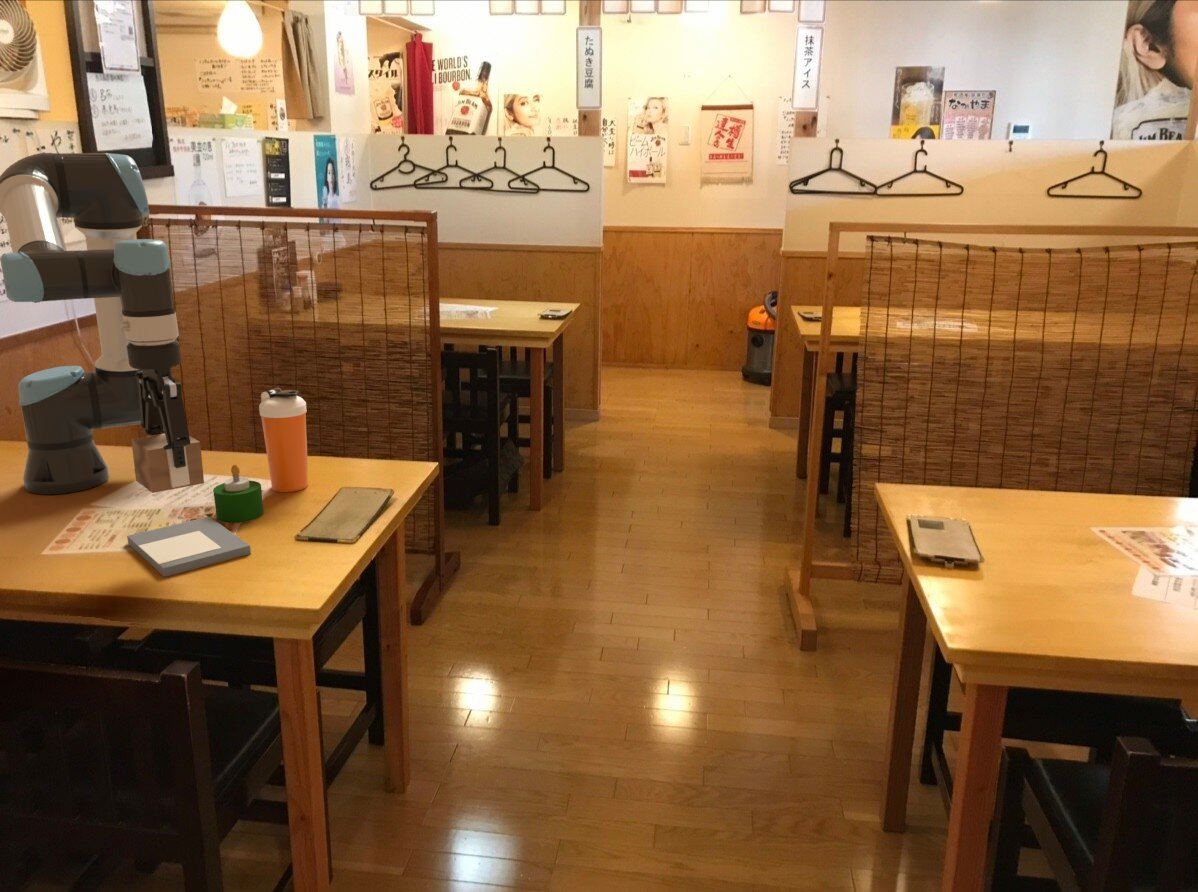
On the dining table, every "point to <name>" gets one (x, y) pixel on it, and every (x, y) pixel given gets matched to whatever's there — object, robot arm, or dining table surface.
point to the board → (188, 546)
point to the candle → (238, 499)
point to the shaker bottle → (285, 438)
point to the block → (163, 463)
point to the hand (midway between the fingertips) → (170, 478)
